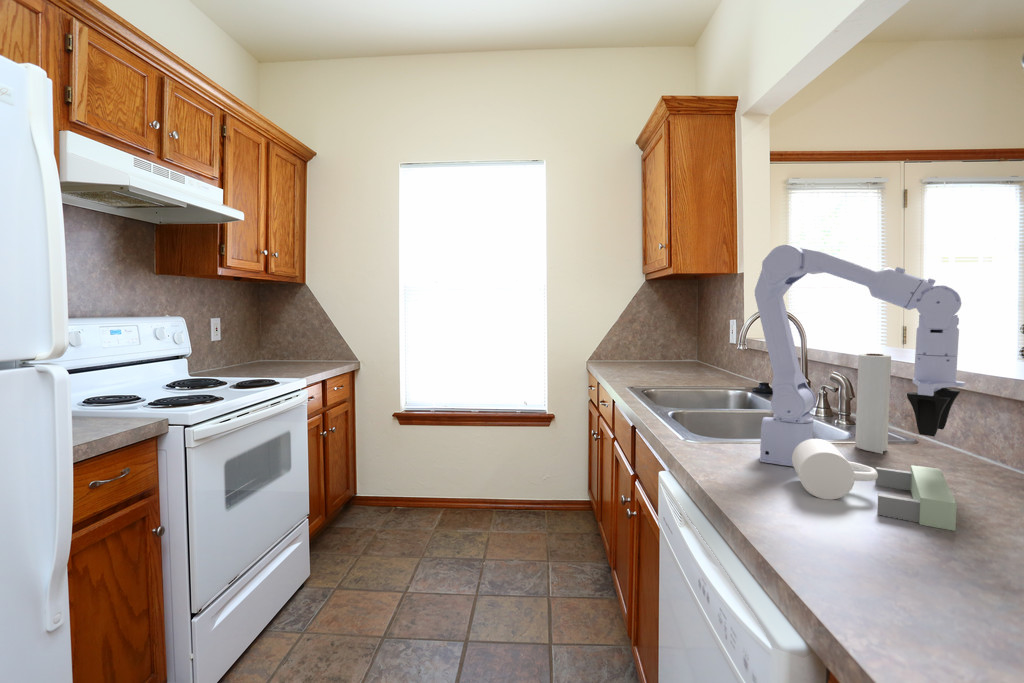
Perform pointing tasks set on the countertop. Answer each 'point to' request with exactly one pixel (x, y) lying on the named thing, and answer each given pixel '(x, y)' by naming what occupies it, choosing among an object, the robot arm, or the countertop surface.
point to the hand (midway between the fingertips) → (931, 431)
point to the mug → (827, 469)
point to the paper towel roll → (873, 402)
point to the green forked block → (918, 497)
